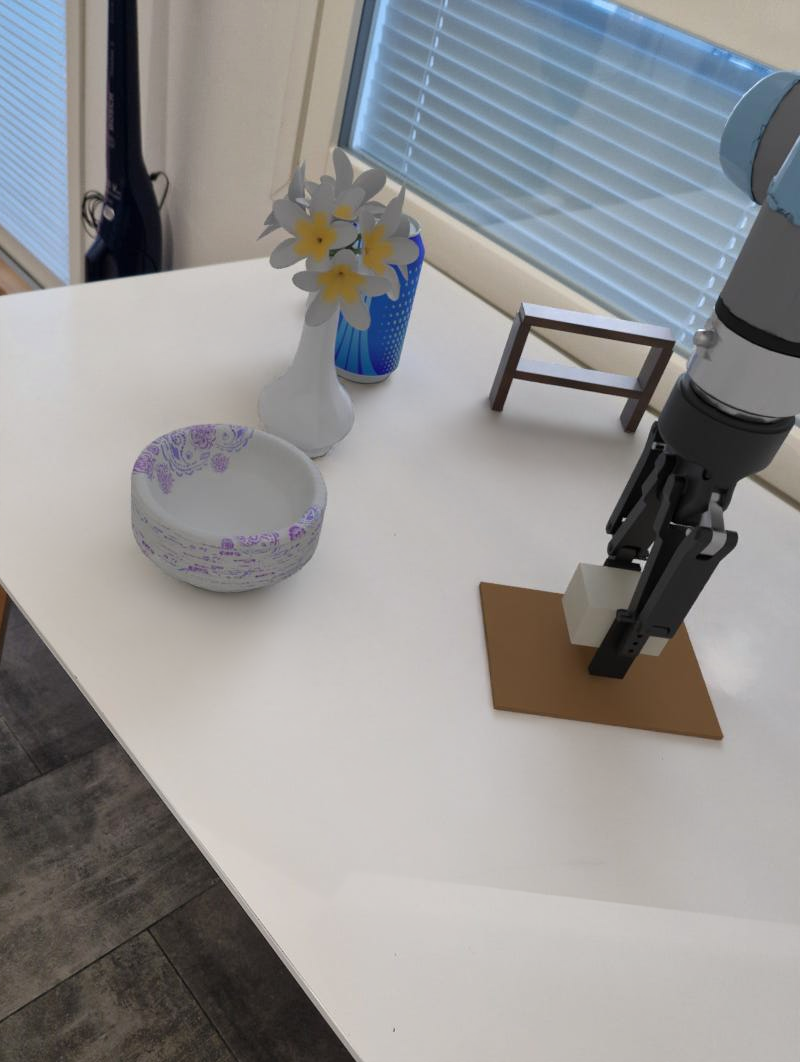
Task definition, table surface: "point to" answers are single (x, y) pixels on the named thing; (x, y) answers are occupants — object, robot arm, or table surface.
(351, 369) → the beer can
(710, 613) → the table surface
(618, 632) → the robot arm
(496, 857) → the table surface
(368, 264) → the flower vase
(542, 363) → the rack
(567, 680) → the mat
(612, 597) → the white cardboard box
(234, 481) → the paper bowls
